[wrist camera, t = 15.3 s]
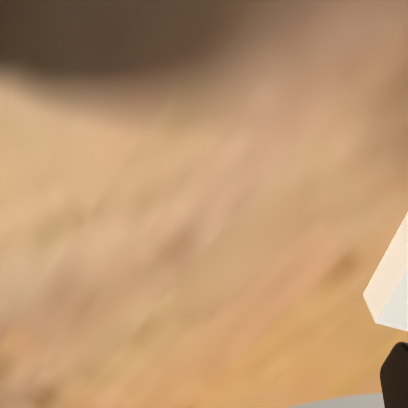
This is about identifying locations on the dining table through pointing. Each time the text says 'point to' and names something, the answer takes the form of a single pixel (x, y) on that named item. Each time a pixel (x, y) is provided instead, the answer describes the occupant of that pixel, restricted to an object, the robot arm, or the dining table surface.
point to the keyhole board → (391, 283)
